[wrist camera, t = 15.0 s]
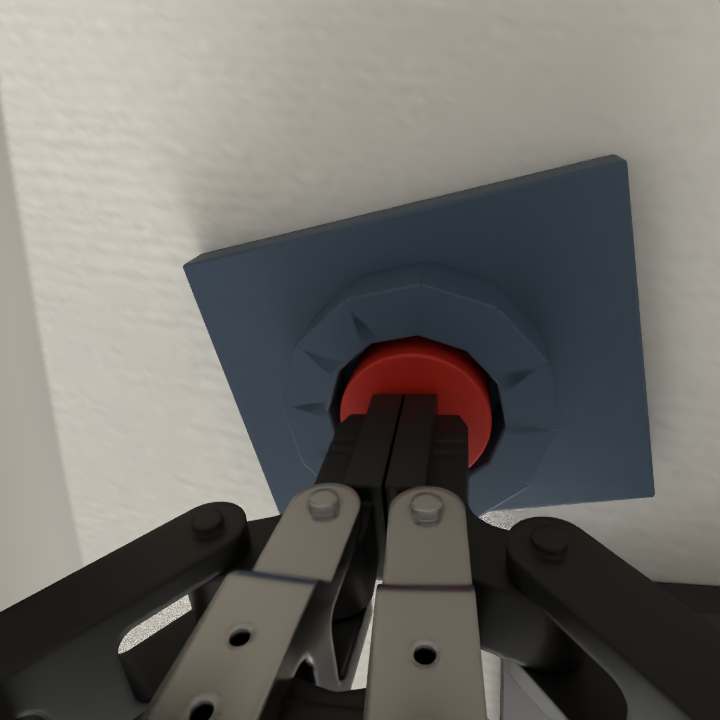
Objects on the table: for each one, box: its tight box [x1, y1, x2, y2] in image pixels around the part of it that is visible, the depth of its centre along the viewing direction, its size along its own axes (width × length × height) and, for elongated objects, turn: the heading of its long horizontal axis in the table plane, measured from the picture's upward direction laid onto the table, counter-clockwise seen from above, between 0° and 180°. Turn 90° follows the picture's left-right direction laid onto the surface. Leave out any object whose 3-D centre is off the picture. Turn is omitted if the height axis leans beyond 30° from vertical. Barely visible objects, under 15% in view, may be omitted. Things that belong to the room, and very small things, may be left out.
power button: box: [340, 335, 492, 467], centre depth 14 cm, size 4×4×2 cm
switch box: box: [183, 154, 655, 518], centre depth 15 cm, size 11×9×3 cm
